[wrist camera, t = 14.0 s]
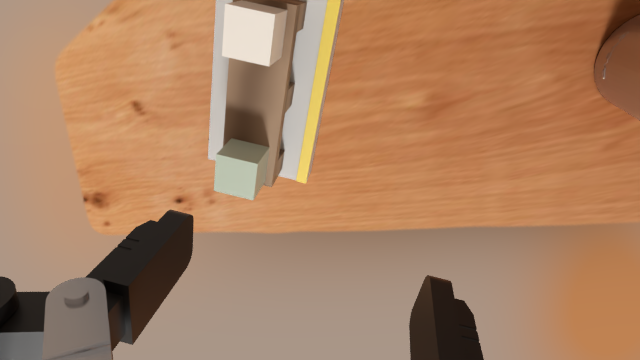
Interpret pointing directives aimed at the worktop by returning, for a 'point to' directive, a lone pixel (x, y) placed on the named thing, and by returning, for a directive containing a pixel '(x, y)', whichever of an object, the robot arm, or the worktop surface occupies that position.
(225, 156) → the block
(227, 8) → the white crate
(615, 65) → the robot arm
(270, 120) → the pallet
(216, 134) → the block
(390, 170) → the worktop surface
